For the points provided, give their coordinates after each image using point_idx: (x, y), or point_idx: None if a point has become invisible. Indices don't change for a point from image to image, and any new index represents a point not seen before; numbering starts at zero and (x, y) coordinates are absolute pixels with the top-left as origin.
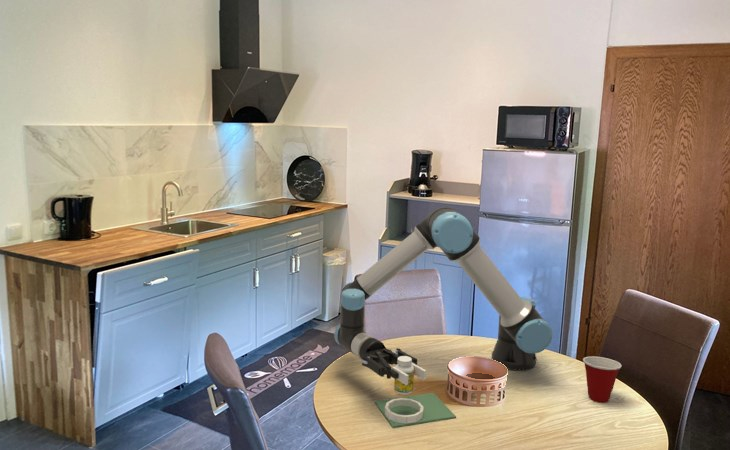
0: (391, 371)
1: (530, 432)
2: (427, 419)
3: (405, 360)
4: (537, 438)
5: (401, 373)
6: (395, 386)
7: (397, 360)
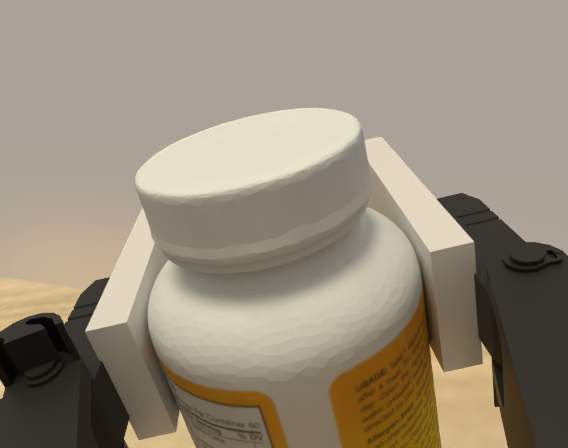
0: (503, 232)
1: (3, 325)
2: None
3: (274, 121)
4: (28, 300)
5: (402, 166)
6: (440, 439)
7: (360, 170)
